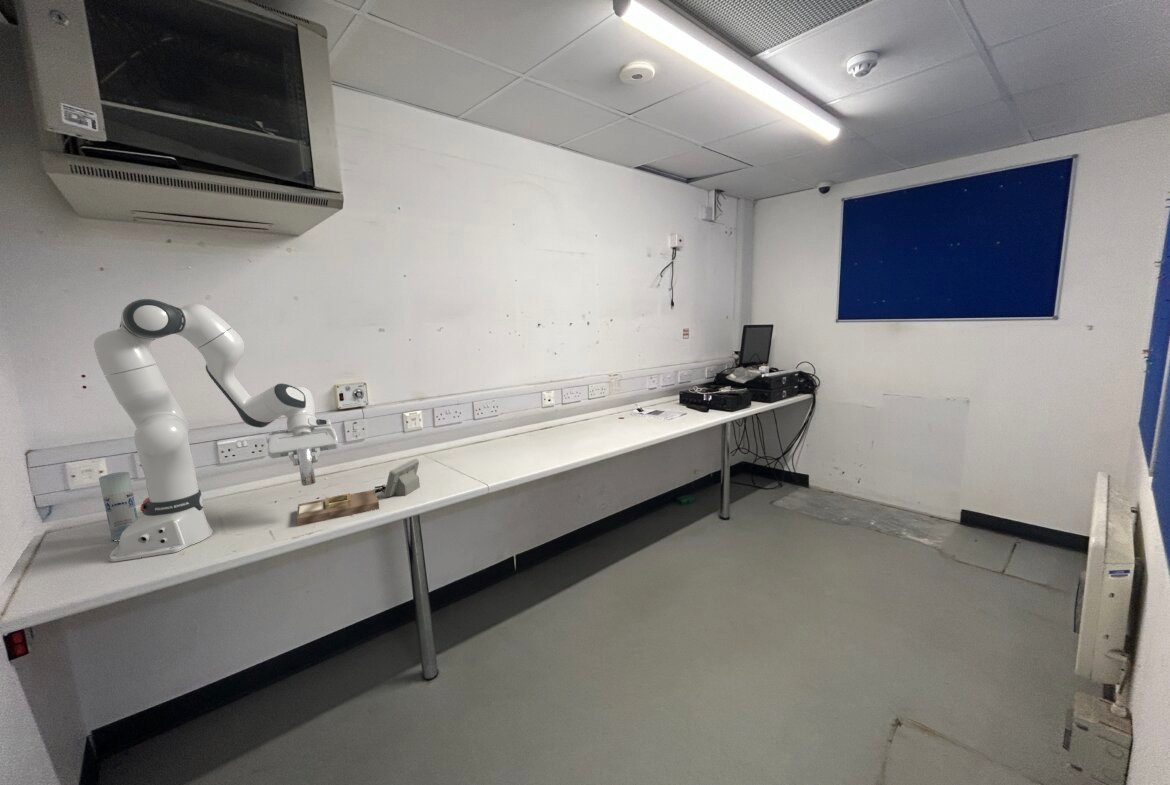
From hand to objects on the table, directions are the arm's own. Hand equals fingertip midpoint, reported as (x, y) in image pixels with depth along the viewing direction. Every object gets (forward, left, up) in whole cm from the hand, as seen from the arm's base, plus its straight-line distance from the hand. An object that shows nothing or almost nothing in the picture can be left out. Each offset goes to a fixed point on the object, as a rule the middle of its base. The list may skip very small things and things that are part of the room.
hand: (305, 463), depth 149 cm
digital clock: (+30, +7, -19) cm, 36 cm away
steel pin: (0, +1, -7) cm, 7 cm away
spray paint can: (-50, +16, -19) cm, 56 cm away
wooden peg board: (+8, +1, -18) cm, 20 cm away
